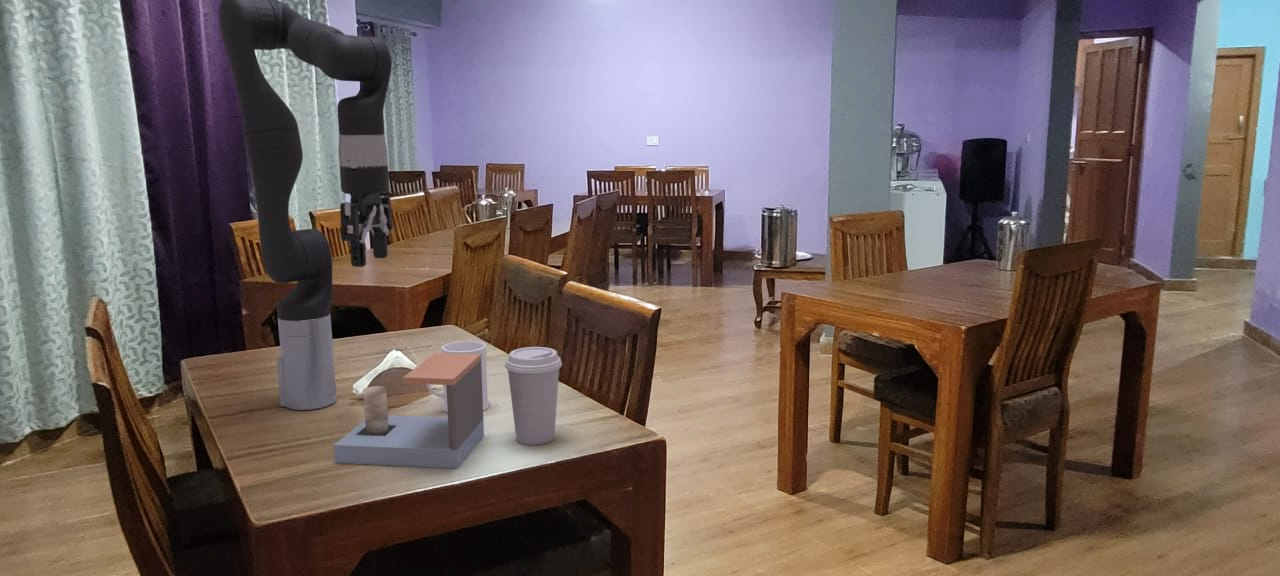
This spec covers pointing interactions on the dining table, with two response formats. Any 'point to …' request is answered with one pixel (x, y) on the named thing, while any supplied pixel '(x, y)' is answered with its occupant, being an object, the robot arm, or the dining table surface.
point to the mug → (466, 348)
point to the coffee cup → (534, 393)
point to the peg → (376, 411)
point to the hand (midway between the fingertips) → (370, 261)
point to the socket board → (427, 421)
